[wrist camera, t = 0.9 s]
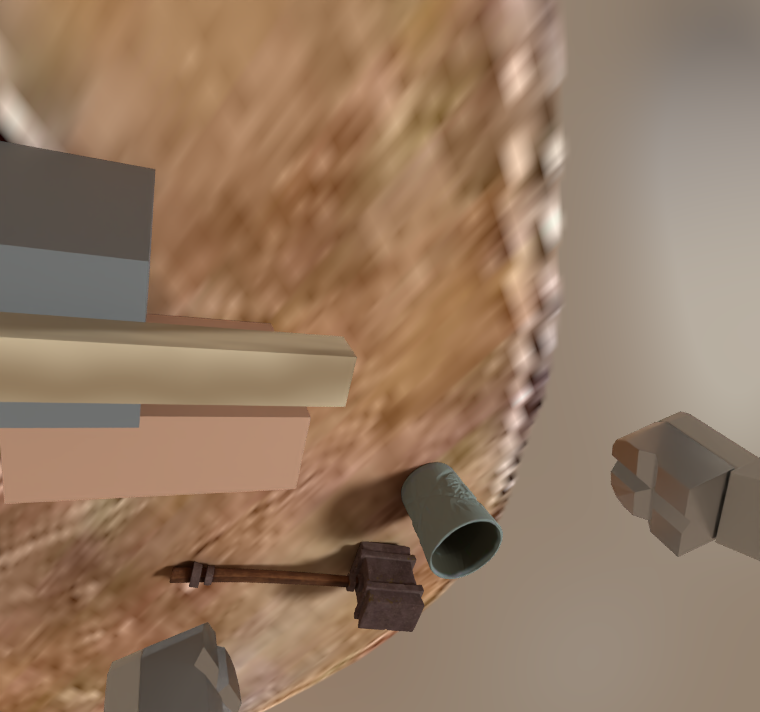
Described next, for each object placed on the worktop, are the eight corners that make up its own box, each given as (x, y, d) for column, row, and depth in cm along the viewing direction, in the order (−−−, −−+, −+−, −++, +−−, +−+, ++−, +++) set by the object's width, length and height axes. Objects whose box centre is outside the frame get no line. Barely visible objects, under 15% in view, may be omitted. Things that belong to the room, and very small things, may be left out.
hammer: (399, 578, 80) (413, 636, 71) (176, 557, 72) (160, 620, 63) (413, 545, 78) (429, 601, 69) (184, 519, 69) (168, 579, 60)
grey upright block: (-48, 132, 39) (-296, 209, 18) (155, 169, 45) (148, 261, 24) (-37, 248, 43) (-235, 428, 22) (149, 269, 49) (139, 427, 27)
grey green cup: (465, 455, 75) (511, 514, 65) (450, 509, 79) (491, 572, 69) (401, 462, 71) (439, 526, 61) (389, 518, 76) (423, 586, 66)
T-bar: (-249, 242, 19) (-311, 268, 16) (350, 302, 28) (368, 325, 26) (-207, 408, 22) (-255, 452, 19) (326, 413, 31) (340, 443, 28)
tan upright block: (49, 306, 47) (-2, 415, 32) (271, 323, 55) (310, 417, 41) (51, 374, 50) (4, 503, 35) (261, 381, 58) (295, 488, 43)
